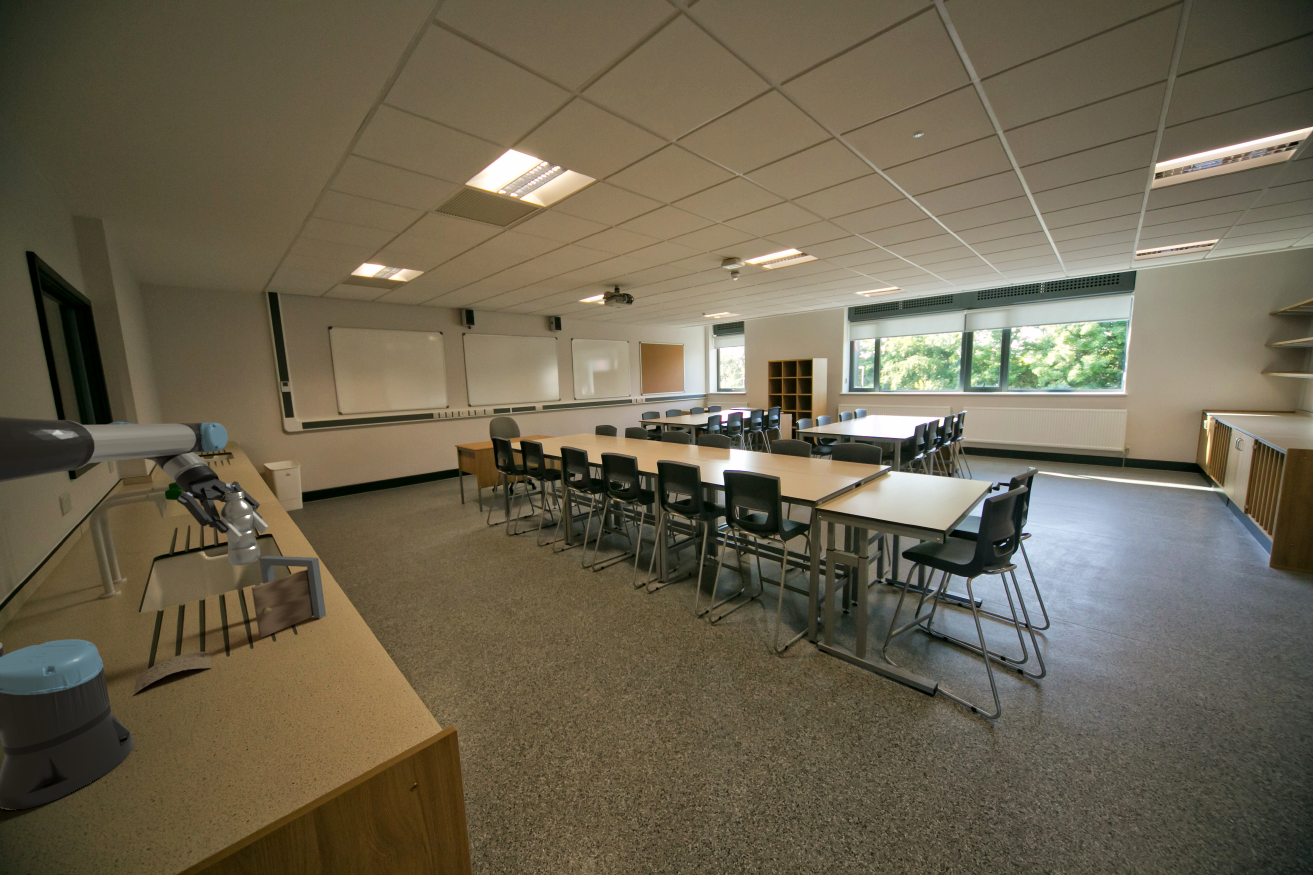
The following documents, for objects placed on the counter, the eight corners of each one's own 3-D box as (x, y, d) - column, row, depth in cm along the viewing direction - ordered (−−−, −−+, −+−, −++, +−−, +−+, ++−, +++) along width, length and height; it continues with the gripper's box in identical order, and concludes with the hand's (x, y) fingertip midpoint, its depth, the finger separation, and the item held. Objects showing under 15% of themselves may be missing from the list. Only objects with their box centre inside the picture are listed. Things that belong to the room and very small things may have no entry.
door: (313, 613, 135) (307, 568, 133) (318, 615, 133) (312, 570, 132) (259, 635, 123) (251, 587, 122) (263, 638, 122) (256, 589, 120)
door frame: (320, 618, 133) (312, 560, 130) (268, 615, 136) (259, 558, 133) (326, 615, 135) (318, 557, 132) (274, 611, 138) (266, 555, 135)
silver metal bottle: (246, 568, 120) (235, 495, 117) (222, 568, 120) (209, 495, 117) (268, 558, 126) (257, 488, 123) (244, 558, 126) (233, 489, 123)
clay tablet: (129, 700, 101) (127, 689, 101) (130, 681, 108) (128, 670, 107) (218, 668, 112) (217, 658, 111) (214, 652, 118) (212, 643, 118)
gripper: (224, 475, 132) (280, 531, 131) (140, 492, 113) (204, 557, 113) (236, 457, 130) (292, 514, 130) (153, 472, 111) (218, 538, 111)
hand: (251, 534), depth 121 cm, fingers closed on silver metal bottle, 6 cm apart
